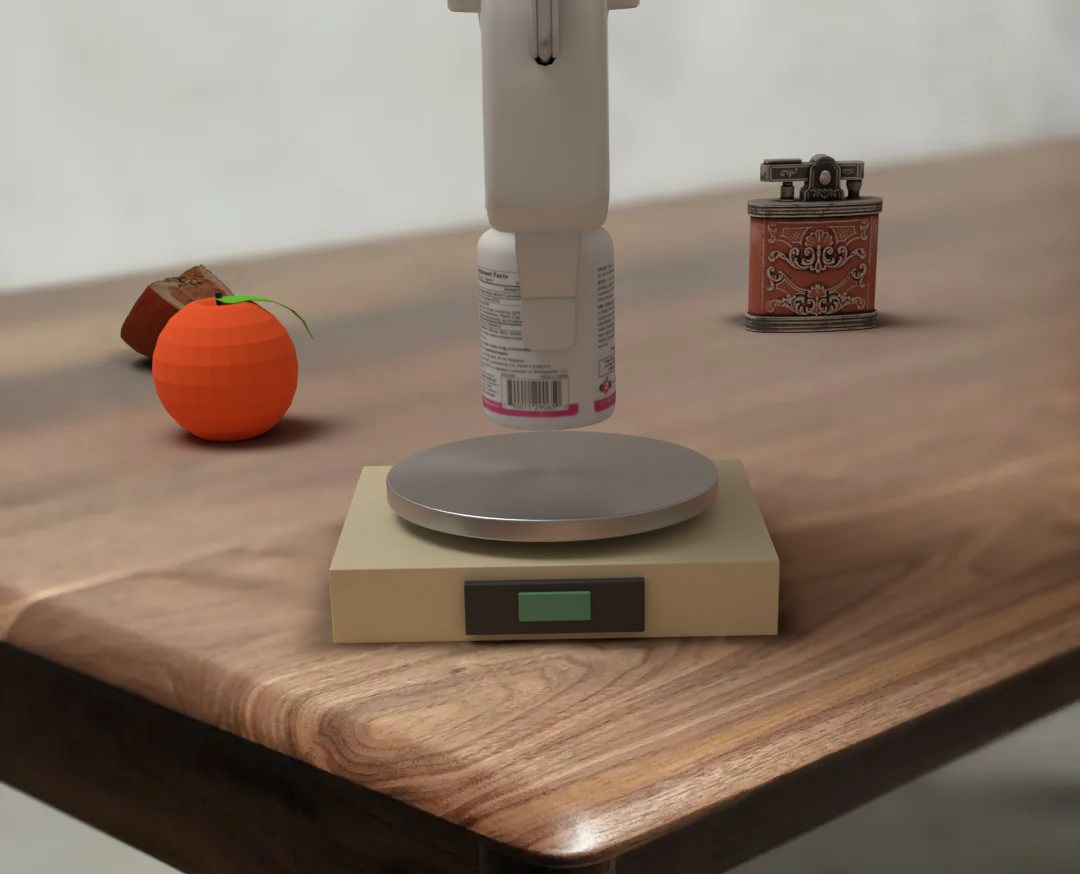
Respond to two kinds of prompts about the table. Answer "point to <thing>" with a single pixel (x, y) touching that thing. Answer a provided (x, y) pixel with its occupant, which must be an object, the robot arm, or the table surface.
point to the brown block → (167, 306)
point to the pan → (552, 486)
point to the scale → (554, 577)
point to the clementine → (225, 368)
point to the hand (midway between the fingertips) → (549, 329)
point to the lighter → (813, 249)
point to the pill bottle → (546, 376)
